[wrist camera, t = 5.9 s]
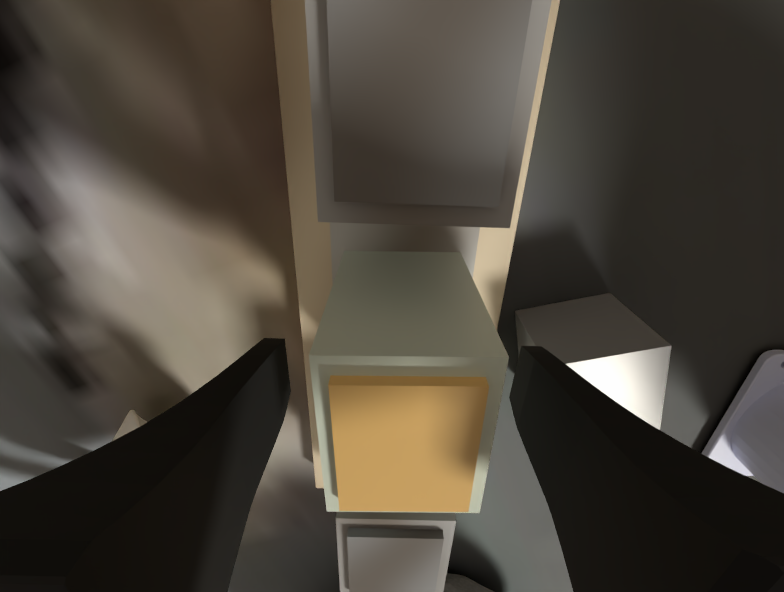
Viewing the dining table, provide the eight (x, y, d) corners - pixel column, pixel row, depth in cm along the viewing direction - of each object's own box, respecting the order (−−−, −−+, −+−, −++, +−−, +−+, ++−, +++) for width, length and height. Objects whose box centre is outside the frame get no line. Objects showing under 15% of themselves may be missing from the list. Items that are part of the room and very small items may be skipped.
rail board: (552, -35, 11) (755, -216, 5) (462, 471, 21) (490, 621, 15) (277, -47, 11) (126, -245, 5) (319, 468, 21) (289, 617, 15)
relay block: (608, 292, 16) (671, 345, 12) (605, 365, 18) (659, 431, 14) (514, 309, 16) (548, 366, 13) (520, 380, 18) (551, 447, 14)
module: (460, 252, 13) (513, 366, 7) (448, 368, 15) (482, 524, 9) (344, 250, 13) (305, 364, 7) (350, 367, 15) (324, 523, 9)
